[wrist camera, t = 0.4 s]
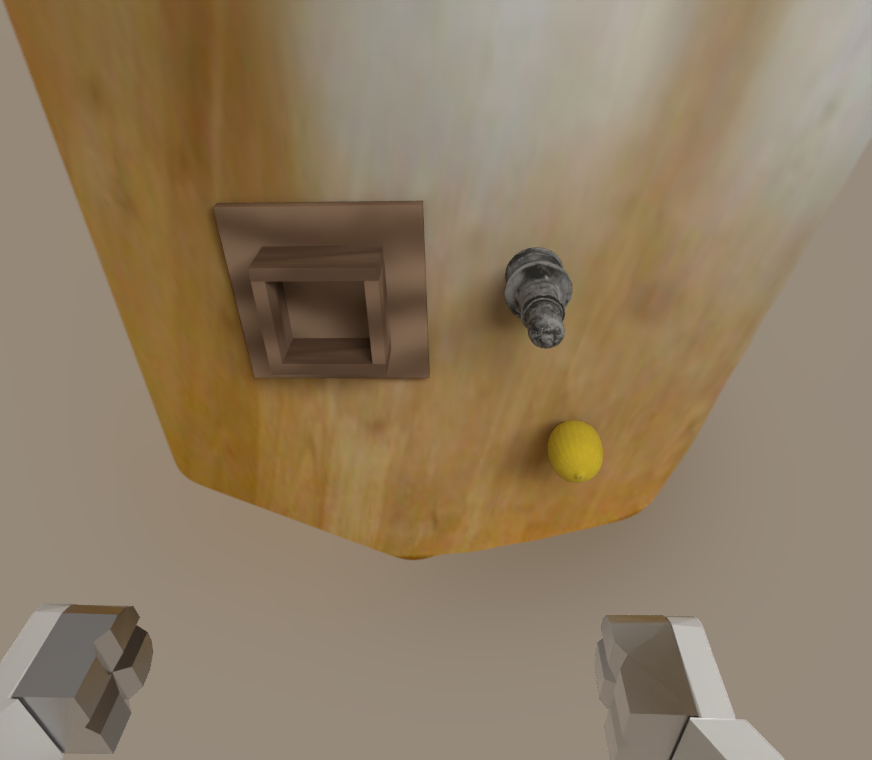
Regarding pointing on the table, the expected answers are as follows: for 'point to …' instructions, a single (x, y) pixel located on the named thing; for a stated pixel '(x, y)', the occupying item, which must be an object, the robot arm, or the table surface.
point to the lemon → (575, 451)
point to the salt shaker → (539, 294)
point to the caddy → (329, 287)
